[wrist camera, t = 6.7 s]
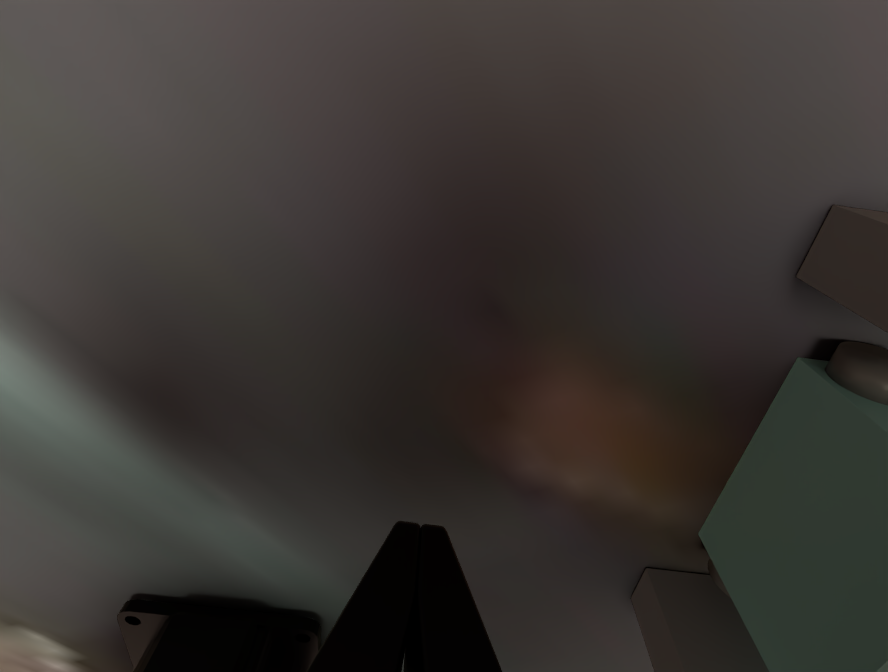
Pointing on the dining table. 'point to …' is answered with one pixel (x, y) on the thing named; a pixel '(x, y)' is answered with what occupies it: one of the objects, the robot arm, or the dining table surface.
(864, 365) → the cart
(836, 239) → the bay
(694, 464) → the dining table surface
